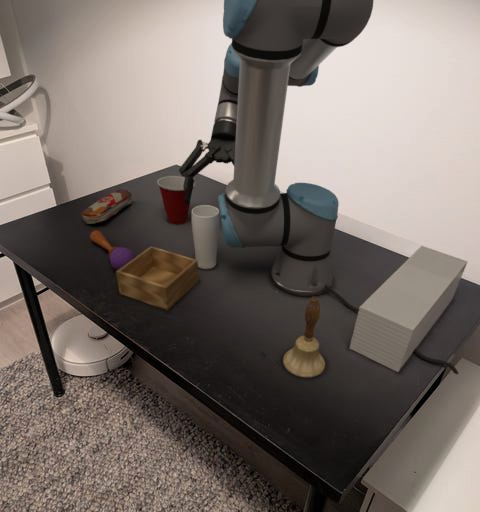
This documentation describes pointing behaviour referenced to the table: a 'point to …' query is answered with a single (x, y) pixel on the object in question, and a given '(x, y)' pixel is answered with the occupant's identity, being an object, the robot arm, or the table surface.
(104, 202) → the pencil case
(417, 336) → the stack of papers
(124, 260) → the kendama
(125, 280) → the bin
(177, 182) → the plastic cup
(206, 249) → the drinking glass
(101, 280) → the table surface
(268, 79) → the robot arm
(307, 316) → the hand bell
